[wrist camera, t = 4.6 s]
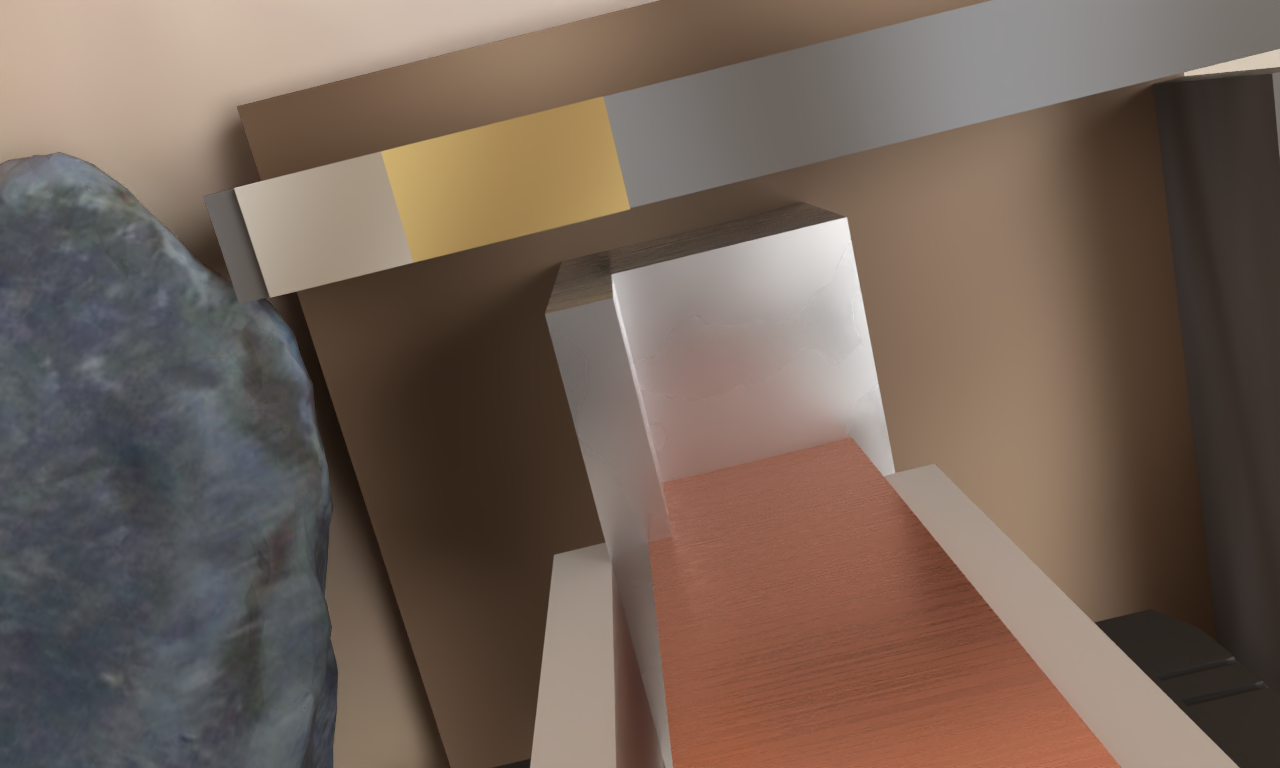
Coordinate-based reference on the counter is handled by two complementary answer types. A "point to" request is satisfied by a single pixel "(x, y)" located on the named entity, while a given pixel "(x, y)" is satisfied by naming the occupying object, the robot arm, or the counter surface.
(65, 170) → the rock
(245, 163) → the counter surface
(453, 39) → the counter surface
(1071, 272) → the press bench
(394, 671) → the counter surface
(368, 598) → the counter surface
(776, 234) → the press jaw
